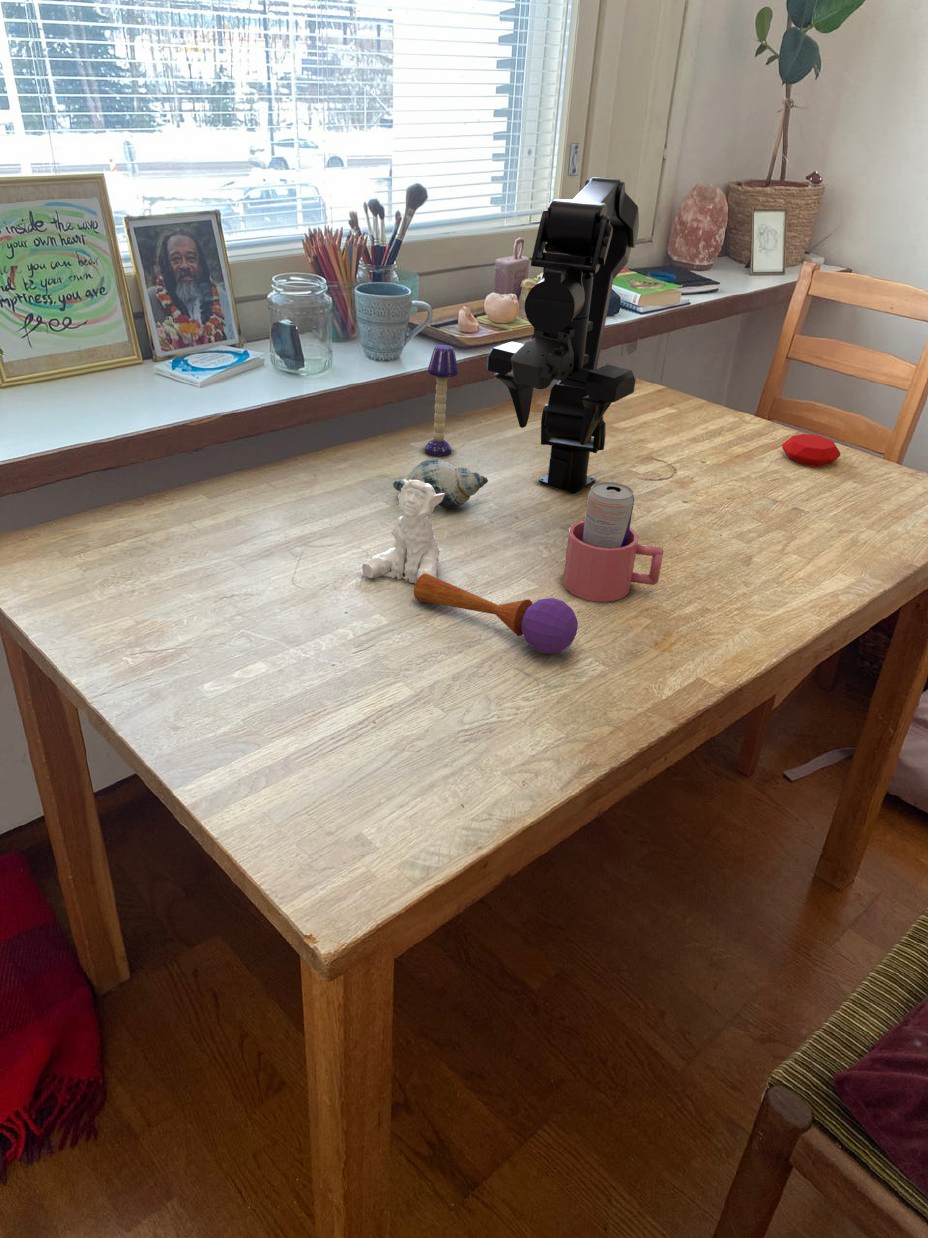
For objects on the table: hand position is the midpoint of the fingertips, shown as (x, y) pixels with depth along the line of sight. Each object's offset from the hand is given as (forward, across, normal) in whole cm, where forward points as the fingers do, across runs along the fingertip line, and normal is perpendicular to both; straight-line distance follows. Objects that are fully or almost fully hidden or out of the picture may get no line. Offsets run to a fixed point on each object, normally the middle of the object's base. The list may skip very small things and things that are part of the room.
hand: (552, 435), depth 123 cm
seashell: (+13, -15, -4) cm, 20 cm away
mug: (+13, +15, -9) cm, 22 cm away
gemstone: (+13, +20, +52) cm, 57 cm away
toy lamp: (+13, -27, +12) cm, 32 cm away
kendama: (+13, +10, -27) cm, 31 cm away
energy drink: (+12, +14, -10) cm, 21 cm away
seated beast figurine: (+13, -5, -23) cm, 27 cm away
